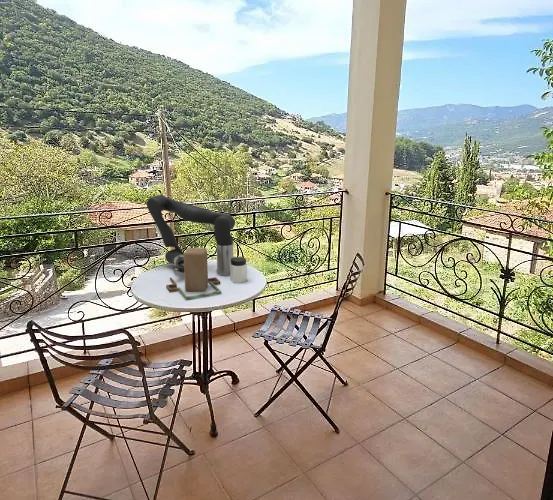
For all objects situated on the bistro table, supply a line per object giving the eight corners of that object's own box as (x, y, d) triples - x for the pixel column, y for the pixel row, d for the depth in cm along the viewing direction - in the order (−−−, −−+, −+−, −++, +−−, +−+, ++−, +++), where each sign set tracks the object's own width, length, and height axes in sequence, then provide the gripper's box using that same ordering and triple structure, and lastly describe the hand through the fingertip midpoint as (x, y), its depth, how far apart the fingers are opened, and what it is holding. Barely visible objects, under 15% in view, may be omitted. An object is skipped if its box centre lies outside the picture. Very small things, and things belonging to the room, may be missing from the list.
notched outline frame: (209, 274, 218) (209, 271, 218) (229, 292, 193) (229, 289, 193) (161, 281, 206) (161, 279, 205) (176, 302, 181) (176, 298, 180)
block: (205, 291, 193) (203, 253, 188) (184, 291, 193) (182, 252, 188) (208, 284, 203) (207, 247, 197) (189, 284, 203) (187, 247, 197)
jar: (248, 281, 208) (248, 260, 204) (234, 284, 204) (234, 262, 201) (242, 276, 215) (242, 255, 212) (228, 278, 212) (228, 257, 209)
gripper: (169, 258, 212) (178, 267, 197) (193, 255, 218) (203, 263, 203) (170, 271, 214) (178, 281, 199) (194, 267, 220) (203, 277, 205)
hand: (191, 272), depth 201 cm, fingers closed
